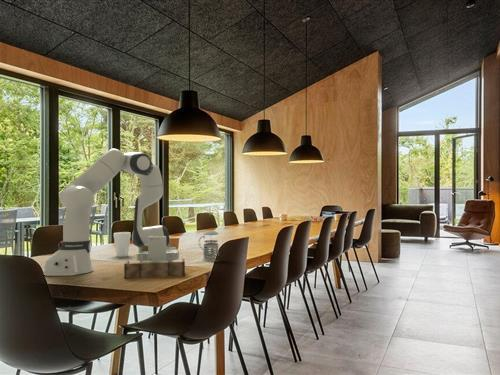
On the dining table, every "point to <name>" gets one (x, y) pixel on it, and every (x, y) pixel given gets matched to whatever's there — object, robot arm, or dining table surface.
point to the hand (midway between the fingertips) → (157, 258)
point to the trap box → (154, 269)
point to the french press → (210, 246)
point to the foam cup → (122, 243)
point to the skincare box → (156, 248)
